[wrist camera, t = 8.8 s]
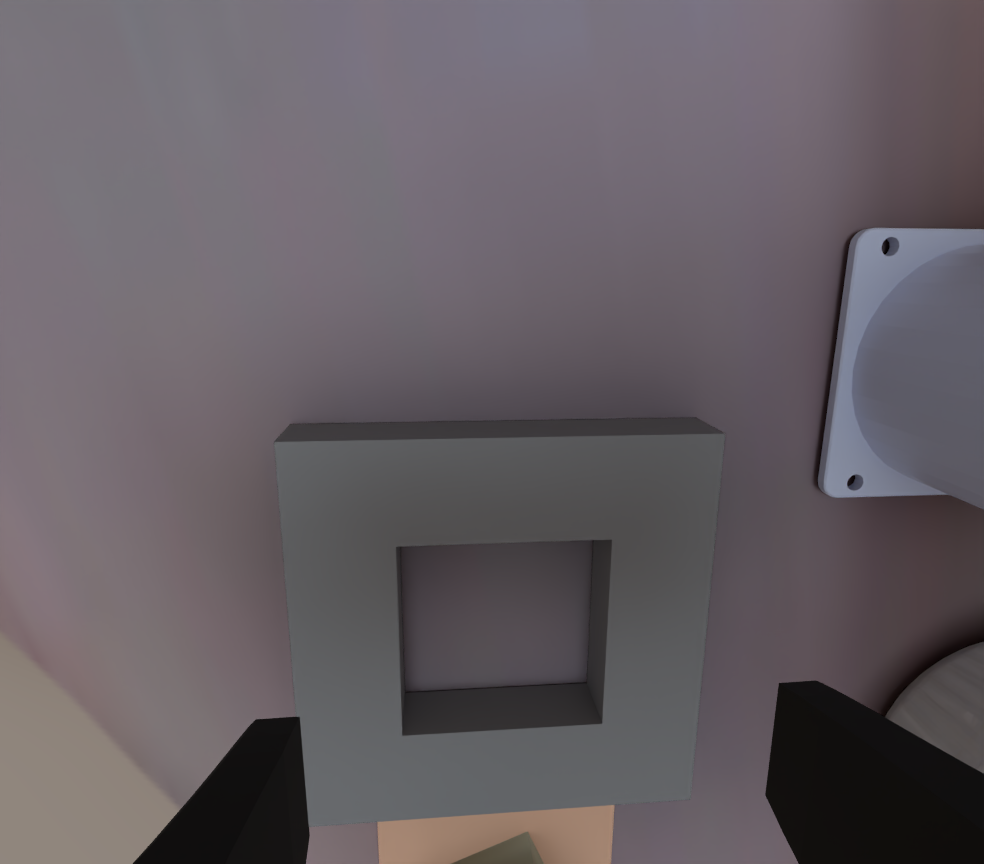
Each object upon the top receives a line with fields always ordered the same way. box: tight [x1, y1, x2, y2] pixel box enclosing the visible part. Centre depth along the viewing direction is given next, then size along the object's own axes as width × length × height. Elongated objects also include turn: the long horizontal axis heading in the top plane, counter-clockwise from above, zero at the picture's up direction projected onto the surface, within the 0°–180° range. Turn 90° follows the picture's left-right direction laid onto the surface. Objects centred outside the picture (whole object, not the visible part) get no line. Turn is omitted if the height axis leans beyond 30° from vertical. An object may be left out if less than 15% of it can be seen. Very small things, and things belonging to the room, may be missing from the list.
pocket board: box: [274, 418, 725, 827], centre depth 19 cm, size 12×12×2 cm
